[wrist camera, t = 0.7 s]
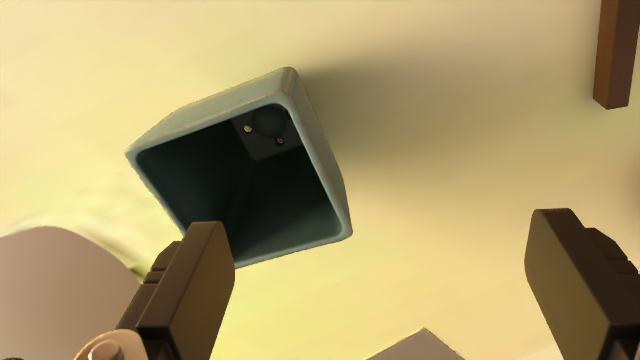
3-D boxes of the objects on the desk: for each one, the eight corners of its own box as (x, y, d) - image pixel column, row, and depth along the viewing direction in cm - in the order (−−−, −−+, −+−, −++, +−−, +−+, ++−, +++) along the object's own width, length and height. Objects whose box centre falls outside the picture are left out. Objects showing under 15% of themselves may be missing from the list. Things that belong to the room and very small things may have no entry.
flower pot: (355, 154, 30) (356, 239, 23) (243, 189, 32) (210, 277, 25) (306, 33, 26) (286, 88, 18) (181, 83, 28) (118, 151, 21)
